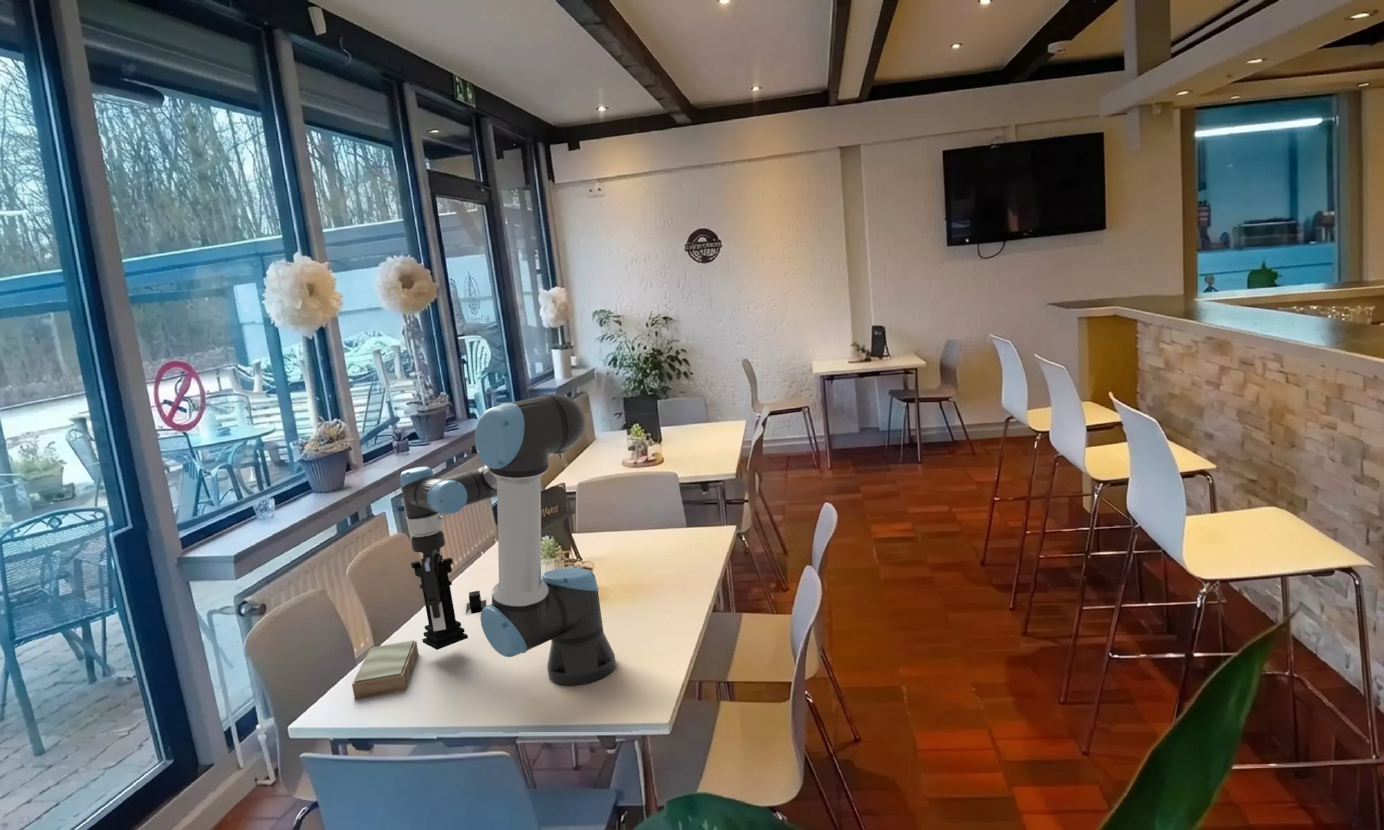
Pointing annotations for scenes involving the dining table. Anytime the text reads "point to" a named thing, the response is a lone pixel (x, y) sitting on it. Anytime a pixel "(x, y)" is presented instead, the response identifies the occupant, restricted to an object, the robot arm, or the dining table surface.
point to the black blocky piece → (475, 603)
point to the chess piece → (453, 628)
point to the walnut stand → (386, 669)
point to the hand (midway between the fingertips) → (442, 622)
